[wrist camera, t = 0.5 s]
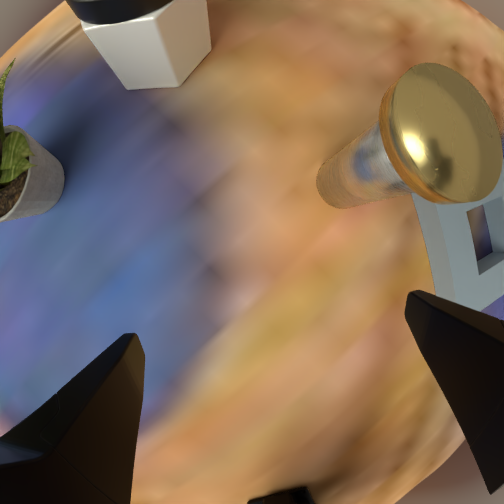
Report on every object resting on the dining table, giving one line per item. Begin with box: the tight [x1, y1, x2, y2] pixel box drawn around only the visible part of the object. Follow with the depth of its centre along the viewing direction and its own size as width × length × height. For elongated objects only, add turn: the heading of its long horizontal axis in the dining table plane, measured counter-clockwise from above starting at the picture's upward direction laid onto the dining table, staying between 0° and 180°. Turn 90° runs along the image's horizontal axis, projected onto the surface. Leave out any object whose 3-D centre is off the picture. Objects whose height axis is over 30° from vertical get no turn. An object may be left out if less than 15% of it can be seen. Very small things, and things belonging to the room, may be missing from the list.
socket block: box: [411, 158, 504, 311], centre depth 22 cm, size 12×12×3 cm
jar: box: [66, 0, 212, 90], centre depth 15 cm, size 9×8×12 cm
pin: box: [316, 63, 503, 209], centre depth 16 cm, size 6×6×14 cm
